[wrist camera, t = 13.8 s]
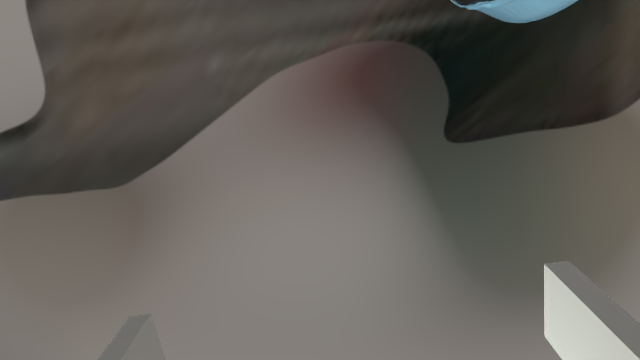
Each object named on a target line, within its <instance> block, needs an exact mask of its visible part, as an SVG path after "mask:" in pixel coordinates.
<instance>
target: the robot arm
mask: <svg viewBox="0 0 640 360" xmlns="http://www.w3.org/2000/svg"><path fill="white" fill-rule="evenodd" d="M450 1H452V2H453V3H454V4H456V5H457V6H459V7H465V8H467V9H473V10H478V11H480V12H483V13H485V14H487V15H490V16H492V17H494V18H497V19H499V20H501V21H505V22H512V23H527V22H531V21H536V20H540V19H543V18H545V17H548V16H550V15H553V14H555V13H557V12H559V11H561V10H563V9H565V8H566V7H568V6H570V5H571V4H573V3H575V2H576V1H578V0H450ZM544 299H545V300H544V313H545V314H544V316H545V319H544V320H545V337H546V339H547V340H548V341H549V343H550V344H551V345H552V347H553V348H554V349H555V351H556V352H557V353H558V354H559V356H560V357H561V359H562V360H640V324H639V323H638V322H637V321H636V320H635V319H634V318H633V317H632V316H630V315H629V314H628V313H627V312H626V311H625V310H624V309H622V308H621V307H620V306H619V305H618V304H617V303H616V302H615V301H613V300H612V299H611V298H610V297H609V296H608V295H607V294H605V293H604V292H603V291H602V290H601V289H600V288H599V287H598V286H597V285H595V284H594V283H593V282H592V281H591V280H590V279H589V278H587V277H586V276H585V275H584V274H583V273H582V272H581V271H580V270H578V269H577V268H576V267H575V266H574V265H573V264H572V263H571V262H569V261H563V262H556V263H548V264H544ZM98 360H165V357H164V354H163V351H162V348H161V345H160V341H159V338H158V335H157V332H156V328H155V325H154V322H153V319H152V316H151V314H147V315H139V316H131V317H129V318H128V319H127V321H126V322H125V323H124V325H123V326H122V327H121V329H120V330H119V332H118V333H117V334H116V335H115V337H114V338H113V340H112V341H111V342H110V344H109V345H108V346H107V348H106V349H105V350H104V352H103V353H102V355H101V356H100V357H99V358H98Z"/></svg>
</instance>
